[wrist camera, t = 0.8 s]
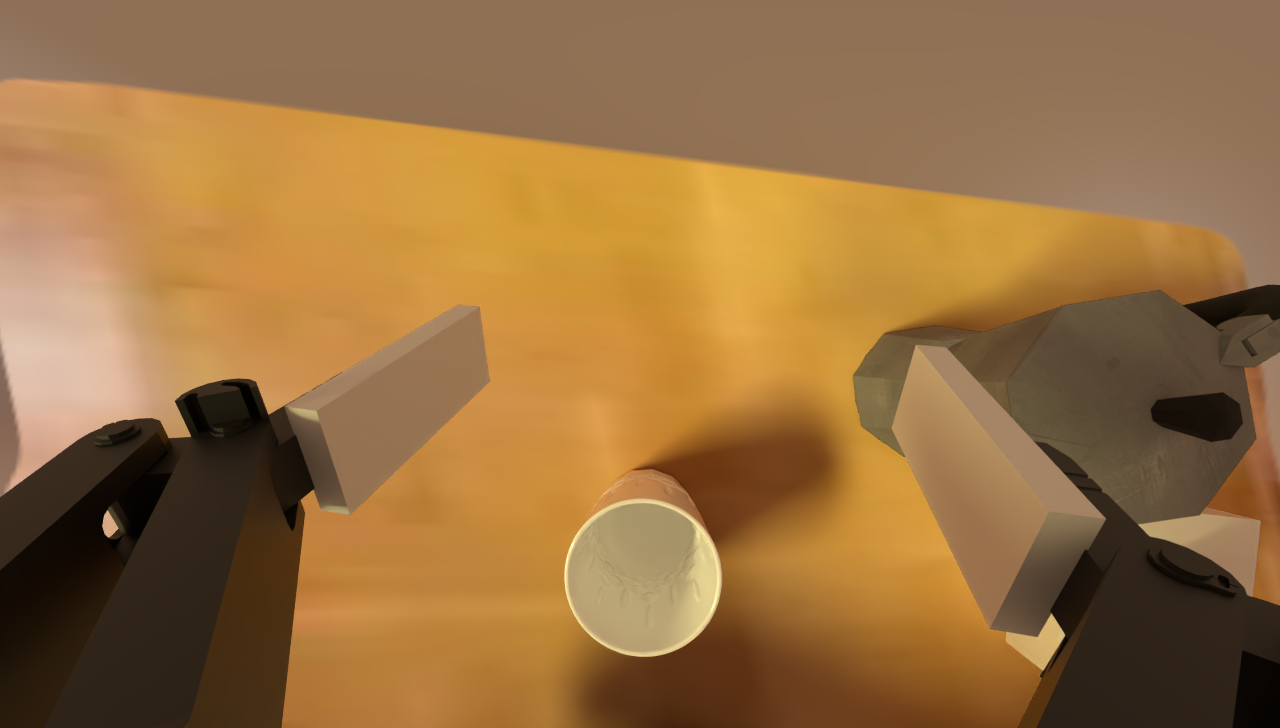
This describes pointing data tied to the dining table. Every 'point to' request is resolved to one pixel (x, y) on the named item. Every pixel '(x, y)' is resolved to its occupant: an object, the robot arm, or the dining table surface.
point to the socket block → (1206, 534)
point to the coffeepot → (1111, 388)
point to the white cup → (643, 567)
